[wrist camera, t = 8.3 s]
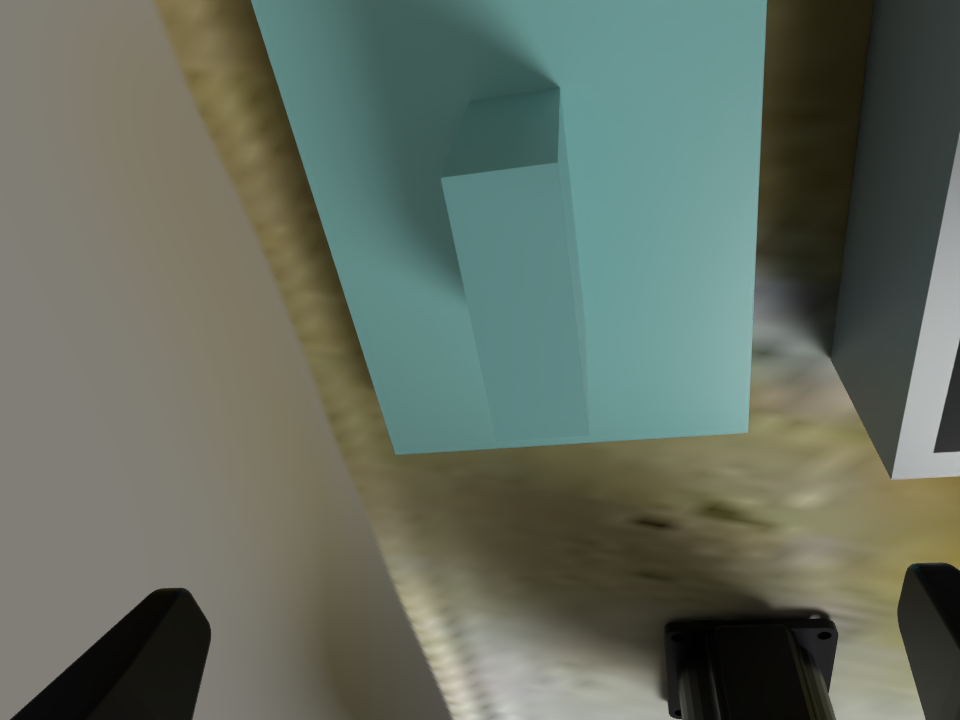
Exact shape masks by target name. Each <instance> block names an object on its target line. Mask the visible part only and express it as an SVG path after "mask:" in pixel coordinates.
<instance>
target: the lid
mask: <svg viewBox="0 0 960 720" xmlns="http://www.w3.org/2000/svg"><path fill="white" fill-rule="evenodd" d="M251 2H252V5H253V9H254V12H255V15H256V18H257V21H258V24H259V27H260V31H261V34H262V37H263V40H264V43H265V46H266V49H267V53H268V56H269V59H270V62H271V65H272V68H273V71H274V75H275V78H276V81H277V84H278V87H279V90H280V93H281V97H282V100H283V103H284V106H285V109H286V112H287V115H288V119H289V122H290V125H291V128H292V131H293V134H294V137H295V141H296V144H297V147H298V150H299V153H300V156H301V159H302V163H303V166H304V169H305V172H306V175H307V178H308V181H309V185H310V188H311V191H312V194H313V197H314V200H315V203H316V207H317V210H318V213H319V216H320V219H321V222H322V225H323V229H324V232H325V235H326V238H327V241H328V244H329V247H330V251H331V254H332V257H333V260H334V263H335V266H336V269H337V273H338V276H339V279H340V282H341V285H342V288H343V291H344V295H345V298H346V301H347V304H348V307H349V310H350V313H351V317H352V320H353V323H354V326H355V329H356V332H357V335H358V339H359V342H360V345H361V348H362V351H363V354H364V357H365V361H366V364H367V367H368V370H369V373H370V376H371V379H372V383H373V386H374V389H375V392H376V395H377V398H378V401H379V405H380V408H381V411H382V414H383V417H384V420H385V423H386V427H387V430H388V433H389V436H390V439H391V442H392V445H393V449H394V452H395V455H404V454H419V453H435V452H451V451H467V450H482V449H498V448H514V447H530V446H546V445H561V444H577V443H593V442H609V441H624V440H640V439H656V438H672V437H687V436H703V435H719V434H735V433H748V420H749V397H750V375H751V352H752V329H753V306H754V284H755V261H756V238H757V216H758V193H759V170H760V148H761V125H762V102H763V80H764V57H765V34H766V12H767V0H251Z"/></svg>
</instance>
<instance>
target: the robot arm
mask: <svg viewBox="0 0 960 720" xmlns="http://www.w3.org/2000/svg"><path fill="white" fill-rule="evenodd" d="M897 615H898V623H899V628H900V632H901V635H902V639H903V642H904V646H905V649H906V653H907V656H908V660H909V663H910V667H911V670H912V673H913V677H914V680H915V684H916V687H917V691H918V694H919V698H920V701H921V705H922V708H923V712H924V715H925V719H926V720H960V571H959V570H958V569H957V568H955V567H954V566H952V565H950V564H947V563H916V564H912V565H910V566H909V567H908V568H907V571H906V574H905V578H904V582H903V587H902V591H901V595H900V600H899V604H898V610H897ZM664 639H665V659H666V678H667V698H668V710H669V714H670V716H671V717H673V718H676V719H682V720H836V718H835V714H834V711H833V708H832V704H831V701H830V698H829V695H828V694H829V688H830V682H831V676H832V670H833V664H834V658H835V652H836V646H837V640H838V632H837V629H836V626H835V623H834V622H833V621H831V620H828V619H792V620H742V621H692V622H672V623H669V624H667V625H666V626H665V628H664ZM210 641H211V629H210V624H209V622H208V621H207V619H206V617H205V615H204V614H203V612H202V611H201V609H200V607H199V606H198V604H197V602H196V601H195V599H194V598H193V596H192V594H191V593H190V592H189V591H188V590H186V589H184V588H164V589H158V590H155V591H154V592H152V593H151V594H149V595H148V596H147V597H146V598H145V599H144V600H143V601H141V602H140V603H139V604H138V605H137V606H136V607H135V608H134V609H133V610H131V611H130V612H129V613H128V614H127V615H126V616H125V617H124V618H123V619H122V620H120V621H119V622H118V623H117V624H116V625H115V626H114V627H113V628H111V630H109V631H108V632H107V633H106V634H105V635H104V636H103V637H101V638H100V639H99V640H98V641H97V642H96V643H95V644H94V645H93V646H91V647H90V648H89V649H88V650H87V651H86V652H85V653H84V654H83V655H82V656H80V657H79V658H78V659H77V660H76V661H75V662H74V663H73V664H72V665H70V666H69V667H68V668H67V669H66V670H65V671H64V672H63V673H61V674H60V675H59V676H58V677H57V678H56V679H55V680H54V681H53V682H51V683H50V684H49V685H48V686H47V687H46V688H45V689H44V690H43V691H42V692H40V693H39V694H38V695H37V696H36V697H35V698H34V699H33V700H31V702H29V703H28V704H27V705H26V706H25V707H24V708H23V709H21V710H20V711H19V712H18V713H17V714H16V715H15V716H14V717H13V718H12V719H10V720H192V719H193V714H194V710H195V705H196V702H197V697H198V693H199V689H200V684H201V680H202V676H203V672H204V667H205V663H206V659H207V655H208V650H209V646H210Z"/></svg>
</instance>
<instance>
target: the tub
mask: <svg viewBox="0 0 960 720" xmlns="http://www.w3.org/2000/svg"><path fill="white" fill-rule="evenodd" d="M831 361H832V363H833V365H834V367H835V369H836V371H837V373H838V375H839V377H840V379H841V381H842V383H843V385H844V387H845V389H846V391H847V393H848V395H849V397H850V399H851V401H852V403H853V405H854V407H855V409H856V411H857V413H858V415H859V417H860V419H861V421H862V423H863V425H864V427H865V429H866V431H867V433H868V435H869V437H870V439H871V441H872V443H873V445H874V446H875V448H876V450H877V452H878V454H879V456H880V458H881V460H882V462H883V464H884V466H885V468H886V470H887V472H888V474H889V476H890V478H891V480H894V479H914V478H933V477H953V476H960V0H874V2H873V10H872V19H871V27H870V36H869V44H868V52H867V61H866V69H865V78H864V86H863V95H862V103H861V111H860V120H859V128H858V137H857V145H856V154H855V162H854V171H853V179H852V187H851V196H850V204H849V213H848V221H847V230H846V238H845V246H844V255H843V263H842V272H841V280H840V289H839V297H838V306H837V314H836V322H835V331H834V339H833V348H832V356H831Z"/></svg>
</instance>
